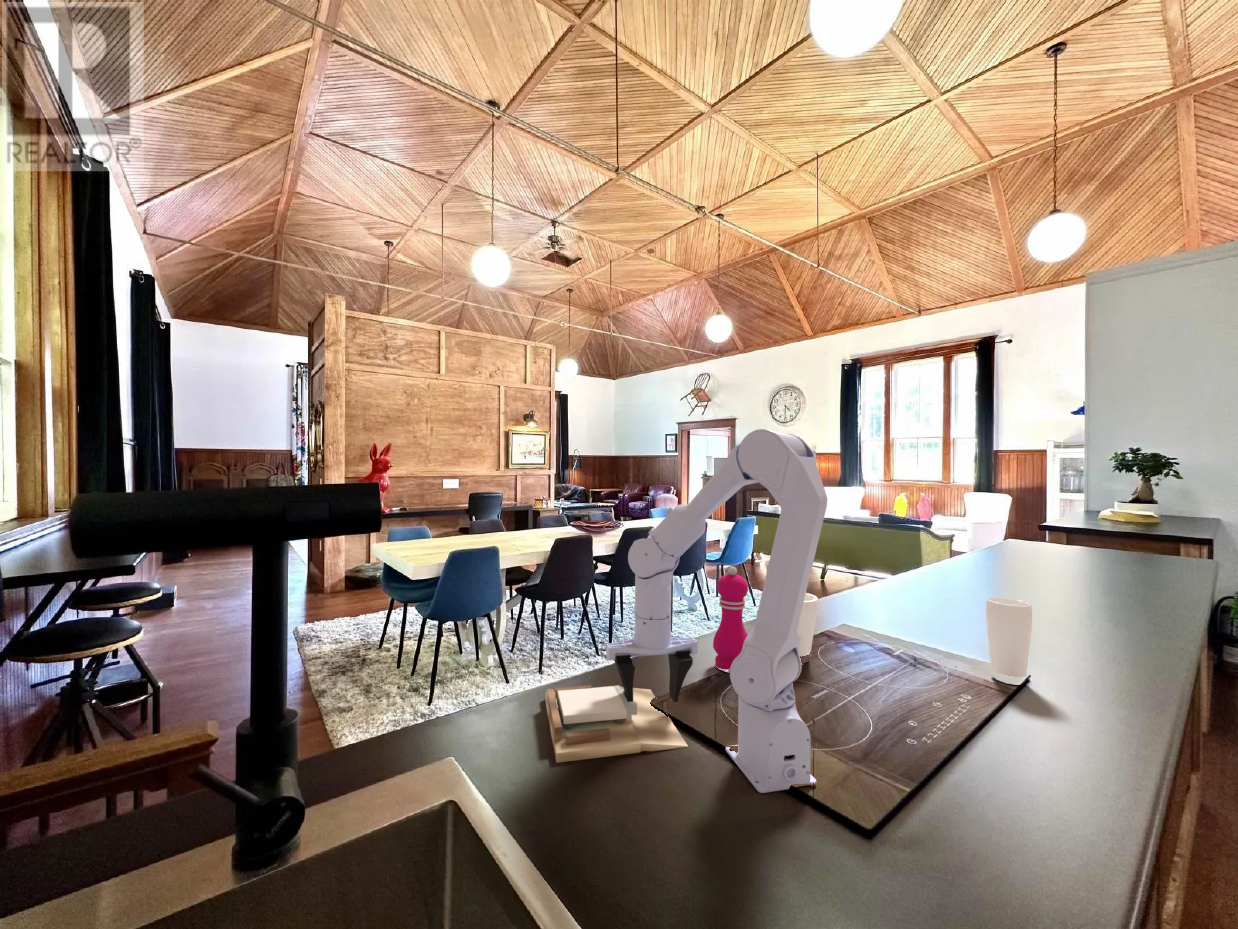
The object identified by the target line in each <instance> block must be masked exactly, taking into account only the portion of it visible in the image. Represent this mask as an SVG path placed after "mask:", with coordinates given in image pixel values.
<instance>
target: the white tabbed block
mask: <svg viewBox="0 0 1238 929" xmlns="http://www.w3.org/2000/svg"><path fill="white" fill-rule="evenodd" d="M612 686H613V687H608V686H599V687H600V688H596V687H592V688H587V689H574V690H561V691H558V699H557V705H558V707H560V711H561V715H562V720H561V723H562V726H563V727H564V728H566V729H570V728H572V727H573V726H574V724H575V723H583V722H593V721H604V720H614V721H615V722H616V723H617V724H621V723H623V722H624V721H625V720H632V715H637V703H636V701H634V702H628V701H627V699H626V697H625V693H624V689H621V688H620V687H621V686H620V685H612Z"/></svg>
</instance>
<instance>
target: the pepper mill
mask: <svg viewBox="0 0 1238 929" xmlns="http://www.w3.org/2000/svg"><path fill="white" fill-rule="evenodd" d="M727 572H728V573H727V574H723V575H722V576H721V577H720V578H719V579H718V581H717V583H716V591H717V592H718V594H719V596H720V598H719V603H718V604H719V606H720V607H721V619H720V623H719V626H718V628H717V629H716V632H715V633H714V637H713V639H712V640H713V642H712V643H713V644H712V648H713V650H714V651H715V653H716V654H717V655H716V656H715V658H714V659H715V664H714V665H716V666H717V667H718V668H721V669H729V668H731V665H732V662H733V661H734V659H736V658H737V657H738V656H739V654H740V653H741V651H742V648H743V643H744V641H745V639H746V637H747V636H748V633H747V631H746V627H745V625H744V621H743V610H744V609H745V607H746V604H745V603H746V600H745V599H744V598H745V597H746V596H747V595H748V592H749V584H748V582H747V580H746V579H745V578H744V577H743V576H741V575H739V574H737V573H738V569H737V568H736V567H735V566H730V567H729V568H728V570H727Z"/></svg>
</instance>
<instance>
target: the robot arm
mask: <svg viewBox="0 0 1238 929" xmlns="http://www.w3.org/2000/svg"><path fill="white" fill-rule="evenodd" d="M757 483H758V484H760V485H761V486H763V487H764V488H766V489H767V490H768V492H769V493H770V494H771V496H772V497H773V498H774V500H775V501H776V502H777V504H778V505H779V506H780V507H779V508H780V513H779V518H778V522H777V527H776V529H775V530H776V531H775V535H774V540H773V543H772V548H771V553H770V556H769V560H768V566H767V570H766V574H765V578H764V579H765V580H764V584H763V588H762V592H761V596H760V601H759V605H758V610H757V614H756V617H755V622H754V625H753V626H752V627H751V629H750V631H749V633H747V635H748V636H747V637H746V639H745V641H744V643H743V648H742V651H741V653H740V654H739V656H738V657H737V658H736V659H734V661H733V662H732V665H731V668H730V674H729V679H730V682H731V686H732V687H733V690H734V691H735V693H736V694H737V695H738V697H737V698H738V702H737V703H738V706H737V708H738V709H737V712H738V713H737V744H735V745H734V744H733V745H731V746H738V752H737V753H736V752H735V751H730V750H729V749H730V747H727V746H726V747H725V751H726V753H727V754H728V755H729V757H730V758H731V760H732V761H734V763H735V764H736V765H737V767H738V768H739V769H740V770H741V772H742V773H743V774H744V776H745V777H746V778H747V780H748V781H749V782H750V783H751V784H752V786H753V787H754V788H755V790H756V791H757V792H758V793H759V794H763V793H764V794H765V793H771V792H778V791H784V790H790V789H789V788H790V786H791V785H793V784H806V783H807V784H810V783H811V784H813V783H814V784H815V783H816V784H817V779H816V778H815V777H814V776H813V775H812V774H811V759H812V758H811V756H812V754H811V748H812V746H811V744H812V738H811V732H810V729H809V728H808V725H807V724H806V723H805V721H803V720H802V718H801V717H800V714H799V712H798V710H797V705H796V694H795V690H794V682H795V681H796V680H797V679H798V678H799V677H800V675H801V673H802V668H803V667H802V666H803V664H802V663H801V658H800V654H799V646H800V641H801V638H800V636H799V634H798V633H797V627H798V623H799V619H800V615H801V611H802V607H803V603H804V598H805V594H806V593H807V589H808V586H809V581H810V577H811V573H812V570H813V565H814V560H815V557H816V552H817V548H818V544H819V540H820V535H821V533H822V528H823V525H824V524H823V523H824V520H825V515H826V510H827V506H828V496H827V492H826V490H825V486H824V484H823V480H822V478H821V475H820V471H819V468H818V465H817V453H816V452H814V450H813V449H812V448H811V447H810V446H809V444H808V443H807V442H806V441H805V440H804V439H803V438H801V437H800V436H799V435H797V434H794V433H783V432H782V433H781V432H777V431H773V430H771V429H766V428H758V429H755V430H753V431H751V432H749V433H748V434H747V435H745V436H744V437H743V439H742V440H741V442H740V443H739V444H737V445H735V447H733V448H732V449H731V450H730V451H729V453H728V456H727V457H726V459H725V460H724V462H723V463H722V464H721V465H720V467H719V468H718V469H717V470H716V471H715V472H714V474H713V475H712V476H711V477H710V478H709V480H708V481H707V482H706V483H705V485H703V486H702V488H701V489H700V490H699V491H698V493H697V494H696V495H695V496H694V498H692V500H691V501H689V503H688V504H678V505H675V506H670V507H669V508H668V509H667V510H666V511H665V513H666V516H665V517H664V518H663V520H661V522H660V523H659V524H658V525H657V526H656V527H654V528H651V529H650V530H649V531H648V536H647V538H639V539H635V540H634V541H633V543H632V545H631V546H630V548H629V550H628V554H627V562H628V565H629V567H630V570H632V571H631V572H632V573H634V574H635V578H634V583H635V585H634V586H635V587H634V638H631V639H625V640H622V641H621V640H620V641H615V642H611V643H610V642H609V643H606V646H605V651H606V652H605V657H606V658H607V660H608V661H614V663H615V665H616V668H617V671H618V673H619V676H620V677H619V678H620V679H621V683H622V687H623V688H624V693H625V697H626V699H627V701H628V702H633V688H634V679H635V670H636V666H635V665H634V664H633V659H632V658H635V657H648V656H661V655H668V664H669V687H668V688H669V689H668V691H669V692H668V693H669V697H670V698H671V700H672V702H673V703H677V702H679V698H680V695H681V691H682V690H681V689H682V686H683V684H684V681H685V679H686V676H687V675H688V673H689V671H690V669H691V668H692V666H693V664H694V662H693V661H694V658H693V657H692V656H691V655H698V654H699V653H698V650H699V649H698V648H699V647H698V646H699V645H698V643H699V641H698V640H697V639H695V638H694V637H678V636H677V637H676V636H675V637H673V636H672V633H671V632H672V582H673V580H674V571H675V570H676V569H677V567H678V566H679V563H680V557H681V556H683V555H684V553H686V551H688V550H689V548H691V547H692V546H693V545H694V543H696V542H697V541H698V540H699V538H701V537H702V536H703V535H704V534H705V533H706V527H707V526H706V521H707V519H708V518H710V517H711V516H712V515H713V514H714V513H715V512H716V511H717V510H718V509H719V508H720V507H721V506H722V505H724V504H725V503H726V502H727V501H728V500H729V499H731V498H732V497H733V496H734V495H735V494H736V493H737V492H738V491H739V490H741V488H743V487H744V486H748V485H753V484H757Z"/></svg>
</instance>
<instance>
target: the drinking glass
mask: <svg viewBox="0 0 1238 929" xmlns="http://www.w3.org/2000/svg"><path fill="white" fill-rule="evenodd" d="M985 610H986V611H985V618H986V620H985V621H986V630H987V639H988V640H987V642H988V652H989V653H988V654H989V660H990V663H989V664H990V671H991V670H992V671H995V672H996V673H999V674H1004V675H1008V676H1014V677H1022V676H1027V677H1028V666H1029V656H1030V650H1031V649H1030V648H1031V640H1032V631H1033V607H1032V604H1031V603H1030V602H1028V601H1023V600H1020V599H1015V598H1009V597H1000V596H997V597H995V596H993V597H991V596H990V597H988V598H986V608H985Z"/></svg>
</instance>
